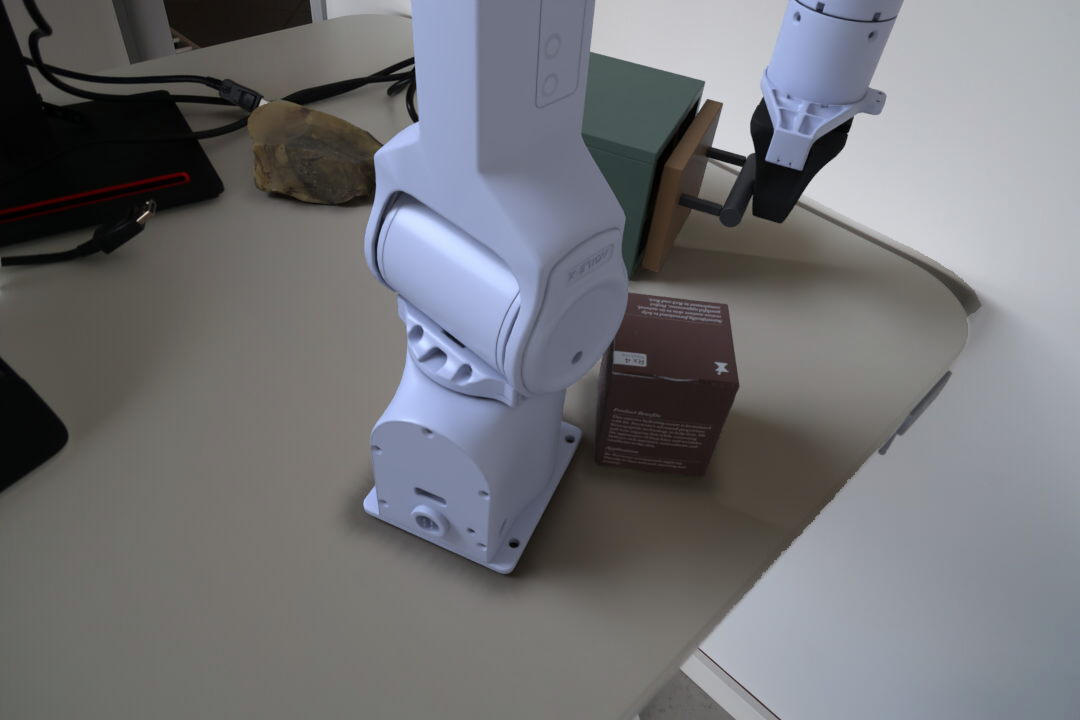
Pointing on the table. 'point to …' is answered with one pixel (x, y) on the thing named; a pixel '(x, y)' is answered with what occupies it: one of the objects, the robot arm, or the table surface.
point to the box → (665, 386)
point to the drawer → (692, 185)
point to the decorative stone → (310, 154)
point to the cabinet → (634, 134)
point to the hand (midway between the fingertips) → (768, 215)
